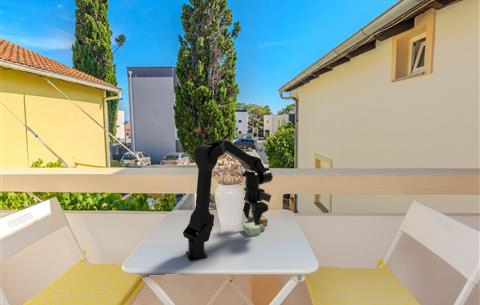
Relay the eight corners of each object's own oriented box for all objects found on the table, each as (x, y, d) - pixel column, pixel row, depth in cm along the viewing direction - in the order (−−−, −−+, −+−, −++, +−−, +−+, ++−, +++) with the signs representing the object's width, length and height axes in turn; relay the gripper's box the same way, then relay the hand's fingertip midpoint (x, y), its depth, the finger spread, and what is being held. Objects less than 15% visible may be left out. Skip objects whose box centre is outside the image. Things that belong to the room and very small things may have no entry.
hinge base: (267, 225, 131) (267, 219, 130) (254, 227, 128) (255, 221, 128) (257, 218, 140) (257, 212, 139) (245, 220, 137) (245, 214, 137)
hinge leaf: (267, 232, 122) (267, 226, 122) (249, 236, 119) (249, 229, 119) (260, 227, 128) (260, 220, 128) (243, 230, 125) (243, 223, 125)
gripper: (280, 189, 115) (279, 226, 117) (259, 180, 132) (258, 212, 134) (255, 192, 111) (254, 230, 113) (237, 182, 128) (236, 215, 130)
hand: (251, 221), depth 122 cm, fingers open, 9 cm apart
